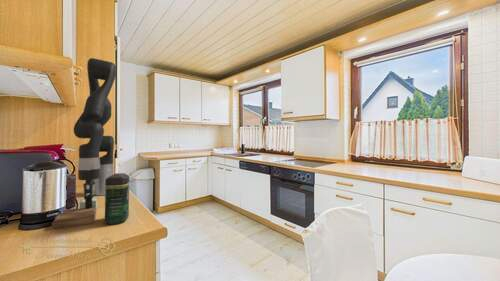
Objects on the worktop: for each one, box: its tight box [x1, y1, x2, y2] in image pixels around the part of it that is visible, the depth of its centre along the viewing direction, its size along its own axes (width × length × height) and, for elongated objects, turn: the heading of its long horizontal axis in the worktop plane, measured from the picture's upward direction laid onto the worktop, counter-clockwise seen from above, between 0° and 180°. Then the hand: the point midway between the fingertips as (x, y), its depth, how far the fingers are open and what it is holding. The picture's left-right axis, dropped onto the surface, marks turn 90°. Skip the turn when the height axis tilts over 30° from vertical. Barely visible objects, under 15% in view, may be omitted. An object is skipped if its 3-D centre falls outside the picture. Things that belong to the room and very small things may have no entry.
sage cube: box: [79, 196, 98, 209], centre depth 91 cm, size 6×6×6 cm
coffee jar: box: [104, 172, 130, 225], centre depth 83 cm, size 10×8×19 cm
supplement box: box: [66, 173, 77, 210], centre depth 93 cm, size 9×5×16 cm, turn 84°
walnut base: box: [51, 207, 98, 230], centre depth 82 cm, size 12×12×3 cm
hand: (89, 205), depth 90 cm, fingers open, 7 cm apart
